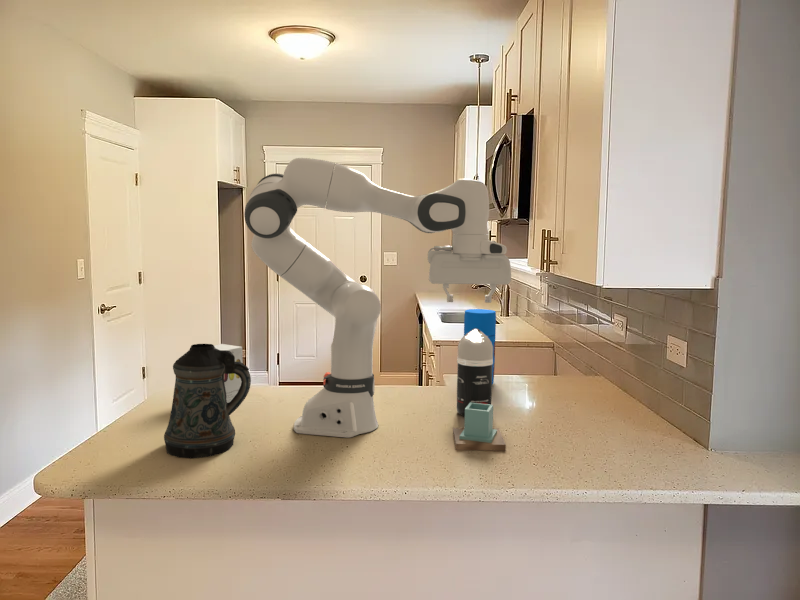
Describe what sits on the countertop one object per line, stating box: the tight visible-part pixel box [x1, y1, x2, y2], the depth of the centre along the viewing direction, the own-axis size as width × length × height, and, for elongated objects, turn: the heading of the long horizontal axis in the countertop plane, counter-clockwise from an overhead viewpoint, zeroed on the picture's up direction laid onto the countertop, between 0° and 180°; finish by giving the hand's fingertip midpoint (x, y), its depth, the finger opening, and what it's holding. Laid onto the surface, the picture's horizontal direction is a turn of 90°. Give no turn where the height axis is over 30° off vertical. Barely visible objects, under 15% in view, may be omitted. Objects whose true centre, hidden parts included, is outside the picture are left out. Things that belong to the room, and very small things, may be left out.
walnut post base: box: [452, 427, 507, 452], centre depth 153 cm, size 12×12×6 cm
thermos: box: [463, 308, 497, 385], centre depth 211 cm, size 11×11×25 cm
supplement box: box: [214, 343, 244, 403], centre depth 185 cm, size 10×9×17 cm
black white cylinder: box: [456, 328, 493, 417], centre depth 175 cm, size 10×10×25 cm
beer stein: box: [163, 343, 252, 459], centre depth 148 cm, size 16×19×25 cm
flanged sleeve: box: [459, 402, 497, 443], centre depth 153 cm, size 8×8×8 cm
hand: (468, 302), depth 152 cm, fingers open, 8 cm apart
